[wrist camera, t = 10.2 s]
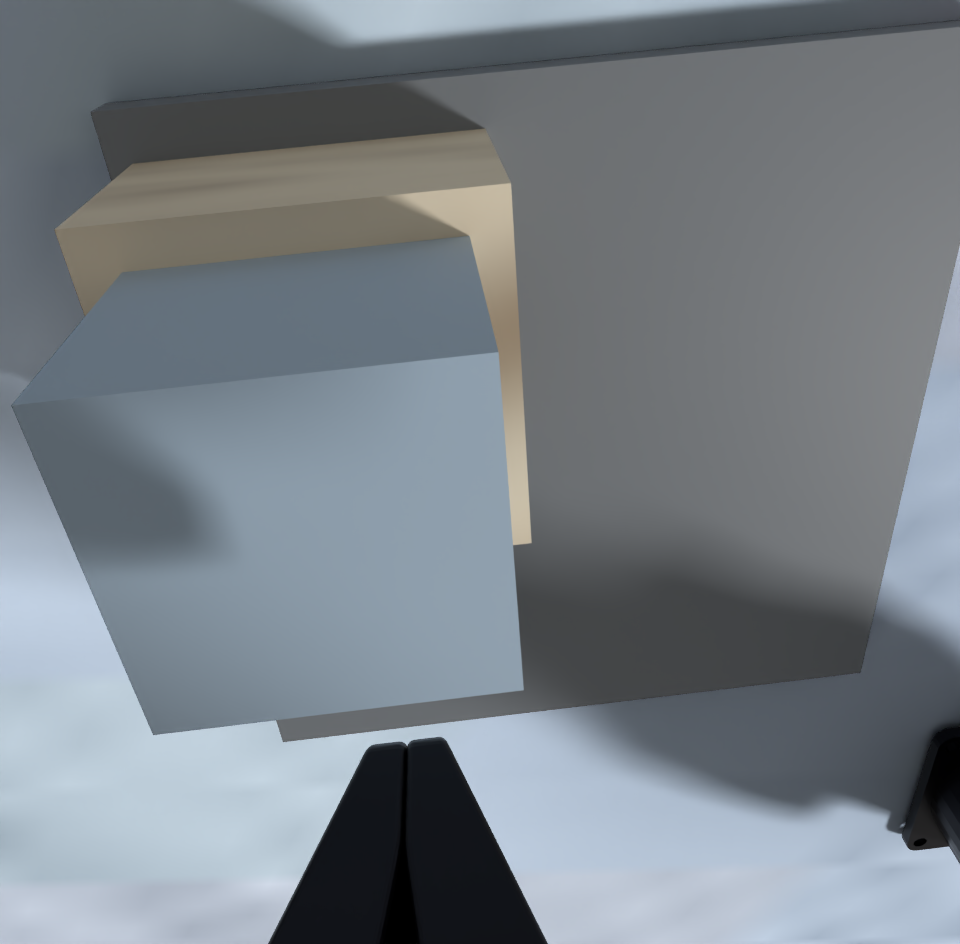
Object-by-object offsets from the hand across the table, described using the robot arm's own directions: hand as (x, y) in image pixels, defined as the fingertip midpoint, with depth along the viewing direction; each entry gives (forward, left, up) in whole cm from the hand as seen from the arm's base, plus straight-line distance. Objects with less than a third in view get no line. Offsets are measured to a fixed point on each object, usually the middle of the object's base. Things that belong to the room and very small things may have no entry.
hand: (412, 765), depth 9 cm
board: (-4, -4, -13) cm, 14 cm away
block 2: (+1, +1, -7) cm, 7 cm away
